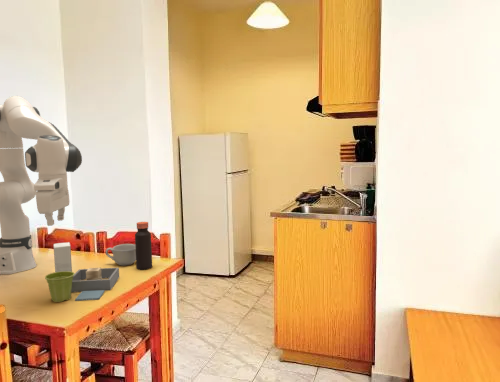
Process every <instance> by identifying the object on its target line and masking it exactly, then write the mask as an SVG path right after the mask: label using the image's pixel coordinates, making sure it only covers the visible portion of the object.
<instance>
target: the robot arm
mask: <svg viewBox="0 0 500 382" xmlns="http://www.w3.org/2000/svg"><path fill="white" fill-rule="evenodd" d="M22 138H23V139H27V140H29V139H30V140H36V143H35V144H34V145H33V146H32V145H31V146H30V147H28V149H27V150H26V151H25V153H24V143H23V139H22ZM82 162H83V157H82V153H81V151H80V149H79V148H78V147H77V146H76V145H75V144H73V143H72V142H70V141H69V139H68V138H67V137H66V136H65V135H64V134H63V133H62V132H61V131H60V129H58V127H57V126H56V125H54V124H53V123H52V122H49V121H47V120H46V119H44V118H43V117H42V116H41V113H40V111H39V109H38V108H37V107H35V106H33V105H32V104H31V103H30V102H29V101H28V100H27V99H26V98H24V97H22V96H18V95H13V96H9V97H8V98H7V99H5V100H4V102H3V104H0V174H1V176H2V179H3V181H0V236H1V237H0V275H11V274H14V273H18V272H23V271H28V270H31V269H34V268H36V267H37V263H36V261H35V257H34V253H33V249H32V248H33V240H32V235H31V230H30V229H31V228H30V219H29V217H28V216H27V215H26V214H25V212H24V210H23V207H22V204H26V203H28V202H30V201H31V200H33V199H34V198H35V200H36V202H35V203H36V208H37V212H38V213H39V214H40V215H44V218H45V220H46V225H47V226H48V227H49V226H54V225H55V219H54V217H53V215H54V213H55V212H56V211H57V221H60V222H61V221H63V220H65V211H66V207H69V206H70V202H71V201H70V193H69V188H68V173H74V172H75V171H77V170H78V168H80V167H81V165H82ZM27 169H29V170H30V171H31V172H33V173H38V174H37V175H38V179H37V181H36V182H35V183H33V182H32V180H31V178H30V176H29V174H28V170H27ZM67 172H68V173H67Z"/></svg>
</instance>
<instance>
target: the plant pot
mask: <svg viewBox="0 0 500 382" xmlns="http://www.w3.org/2000/svg"><path fill="white" fill-rule="evenodd" d="M75 273H76V272H73V271H72V272H70V271H62V272H55V271H54V272H50V273H49V274H46V275H45V276H44V279H45V280H46V282H47V284H48V289H49V294H50V298H51V301H53V302H56V303H57V302H58V303H60V302H61V303H62V302H64V301H68V300H70V299H71V298H72V292H71V289H72V280H73V276H74V274H75Z"/></svg>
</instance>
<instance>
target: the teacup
mask: <svg viewBox="0 0 500 382" xmlns="http://www.w3.org/2000/svg"><path fill="white" fill-rule="evenodd" d="M109 251H111V253H112V254H113V255H111V254H110V253H109ZM104 253H105V255H106V257H107V258H110V259H112V261H114V263H116V264H117V265H118V266H123V267H124V266H131V265H133V264H134V263H136V248H135V243H133V244H132V243H121V244H117V245H114V246H113V247H107V248H106V249H105V252H104Z"/></svg>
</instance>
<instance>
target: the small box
mask: <svg viewBox="0 0 500 382" xmlns="http://www.w3.org/2000/svg"><path fill="white" fill-rule="evenodd" d="M71 249H72V248H71V243H70V242H69V241H68V242H58V243H57V242H56V243H53V255H54V256H53V257H54V259H53V261H54V273H55V272H62V271H70V272H73V265H72V250H71Z"/></svg>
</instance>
